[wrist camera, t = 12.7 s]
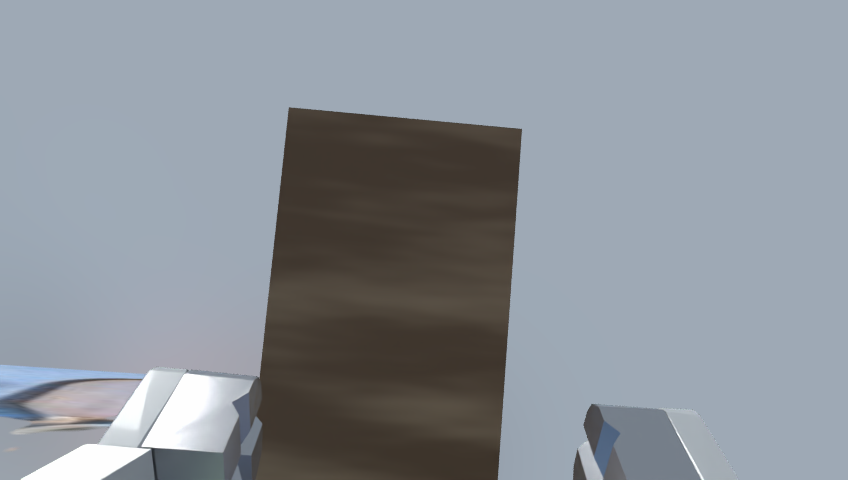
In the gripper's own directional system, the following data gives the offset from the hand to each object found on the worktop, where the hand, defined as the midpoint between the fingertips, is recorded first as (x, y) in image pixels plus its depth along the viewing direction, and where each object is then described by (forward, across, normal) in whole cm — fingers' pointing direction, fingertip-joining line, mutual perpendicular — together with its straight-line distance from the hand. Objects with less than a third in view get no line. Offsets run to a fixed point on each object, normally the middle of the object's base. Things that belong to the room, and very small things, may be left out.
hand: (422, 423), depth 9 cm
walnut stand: (+14, +1, +30) cm, 33 cm away
